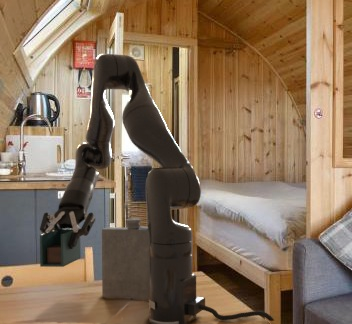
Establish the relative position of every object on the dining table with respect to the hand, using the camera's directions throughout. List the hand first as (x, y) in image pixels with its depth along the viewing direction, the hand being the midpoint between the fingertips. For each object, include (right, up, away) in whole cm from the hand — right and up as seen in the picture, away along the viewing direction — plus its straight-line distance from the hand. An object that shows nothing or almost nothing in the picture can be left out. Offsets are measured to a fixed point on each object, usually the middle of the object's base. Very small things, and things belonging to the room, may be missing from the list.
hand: (57, 247), depth 119 cm
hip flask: (+20, -13, -2) cm, 24 cm away
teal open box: (0, -4, +2) cm, 5 cm away
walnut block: (0, -4, 0) cm, 4 cm away
